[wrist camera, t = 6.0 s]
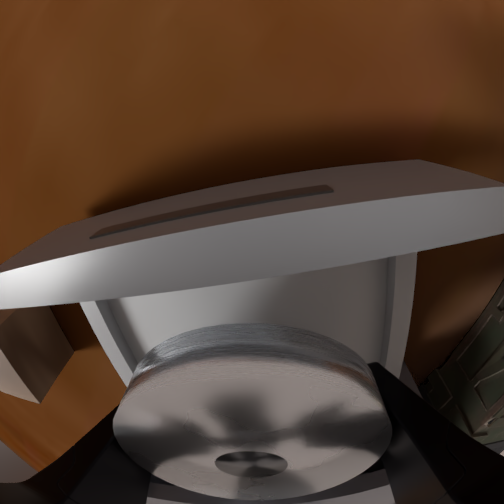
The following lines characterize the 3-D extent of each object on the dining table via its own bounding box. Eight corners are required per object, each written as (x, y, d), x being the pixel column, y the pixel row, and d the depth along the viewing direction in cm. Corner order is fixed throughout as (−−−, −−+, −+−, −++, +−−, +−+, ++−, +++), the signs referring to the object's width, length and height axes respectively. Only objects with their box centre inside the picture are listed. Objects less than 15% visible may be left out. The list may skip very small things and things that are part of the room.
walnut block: (74, 351, 12) (40, 403, 9) (33, 349, 13) (0, 391, 9) (40, 287, 11) (-9, 334, 7) (2, 293, 11) (-39, 330, 8)
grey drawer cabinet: (374, 452, 16) (389, 516, 10) (206, 470, 17) (197, 533, 12) (401, 355, 12) (447, 455, 6) (144, 387, 13) (110, 482, 7)
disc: (362, 449, 8) (371, 484, 6) (182, 463, 9) (175, 496, 7) (388, 296, 5) (421, 346, 4) (90, 332, 6) (59, 376, 5)
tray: (397, 391, 12) (423, 456, 8) (157, 418, 13) (139, 481, 9) (418, 157, 8) (510, 183, 4) (60, 225, 9) (-18, 275, 5)
